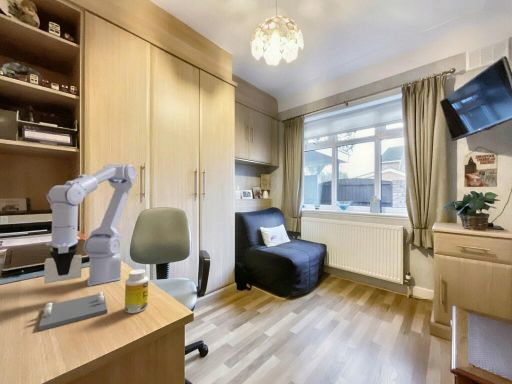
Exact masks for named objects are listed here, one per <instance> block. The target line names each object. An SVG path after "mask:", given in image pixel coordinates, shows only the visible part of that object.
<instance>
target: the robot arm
mask: <svg viewBox="0 0 512 384" xmlns="http://www.w3.org/2000/svg"><path fill="white" fill-rule="evenodd" d="M137 176H138V175H137V170H136V168H135V165H133V164H131V163H130V164H113V163H109V164H107V165H103V167H102V168H101V169H100V170H98V171H96V172H95V173H93V174H91V175H90V174H85V173H84V174H83V173H82V174H79V175H78V177H77V178H75V179H73V180H68V181H66V182H65V183H64V184H61V185H60V184H59V185H54V186H52V187H51V188H50V189H49V191H48V194H46V200H47V201H48V203H50V204H49V205H50V209H51V210H52V211H51V212H52V215H51V216H52V217H51V241H47V242H45V246H47V247H48V246H52V250H51V251H50V256H51V258H53V259H54V261H55V264H56V268H57V272H58V275H59V276H62V275H68V273H69V270H70V266H71V262H72V259H73V256H74V255H76V253H77V251H78V250H77V247H78V242H79V239H78V226H79V225H78V220H79V219H78V218H79V217H78V216H79V215H78V214H79V205H81V204H82V202H83V201H84V199H85V197H86V196H87V195H89V194H91V193H92V192H94V191H96V190H97V189H98V187H99V184H101V183H102V184H103V183H104V182H105V181H107V182H108V183H109V185H110V187H111V188H112V189H114V191H113V193H112V196H111V198H110V200H109V203H108V206H107V208H106V210H105V212H104V214H103V215H104V216H103V218H102V220H101V223H100V226H99V227H98V228H95V229H93V230H92V231H91V232H90V234H89V235H88V237H87V238H86V239H85V241H84V243H83V250H84V252H85V253H86V254H87V257H89V264H88V265H89V267H88V268H89V269H88V271H89V272H88V277H87V278H86V279H87V286H88V287H90V286H95V285H100V284H106V283H111V282H116V281H120V280H121V276H122V275H121V273H122V257H121V253H118V251H119V249H120V247H121V239H122V234H121V233H120V232H118V230H117V229H118V226H119V224H120V220H121V218H122V216H123V214H124V210H125V208H126V204H127V202H128V200H129V196H130V194H131V191H132V188H133V187H134V185H135V181H136V178H137Z"/></svg>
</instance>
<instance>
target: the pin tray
mask: <svg viewBox="0 0 512 384" xmlns="http://www.w3.org/2000/svg"><path fill="white" fill-rule="evenodd" d="M105 314H108V306H107V302H106V298H105V293H104V291H98V293H97V294H92V295H87V296H84V297H78V298H72V299H69V300H63V301H58V302H54V303H53V302H47V303H46V304H45V305H44V309H43V311H42V315H41V318H40V322H39V324H38V332H42V331H45V330H49V329H52V328H55V327H60V326H64V325H68V324H72V323H76V322H78V321H82V320H86V319H90V318H94V317H98V316H102V315H105Z"/></svg>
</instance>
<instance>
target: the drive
mask: <svg viewBox="0 0 512 384" xmlns="http://www.w3.org/2000/svg"><path fill="white" fill-rule="evenodd" d="M82 258H83V257H82V254H75V255H74V256H73V259H72V262H71V266H70V270H69V273H68V275H62V276H59V275H58V272H57V268H56V264H55V261H54V259H53V258H52V257H50V258H49V257H48V258H45V261H44V274H43V277H44V278H43V280H44V281H43V282H44V283H43V284H44V285H46V284H52V283H59V282H65V281H69V280H75V279H81V278H82V262H83V261H82Z"/></svg>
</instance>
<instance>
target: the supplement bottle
mask: <svg viewBox="0 0 512 384" xmlns="http://www.w3.org/2000/svg"><path fill="white" fill-rule="evenodd" d="M124 288H125V290H124V291H125V293H124V294H125V295H124V310H125V312H126V313H127V314H136V313H140V312H142V311H144V310H145V309H147V308H148V303H149V301H148V300H149V277H148V276H146V270H145V269H142V268H138V269H134V270H130V271H129V274H128V278H127V279H126V281H125V287H124Z"/></svg>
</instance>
